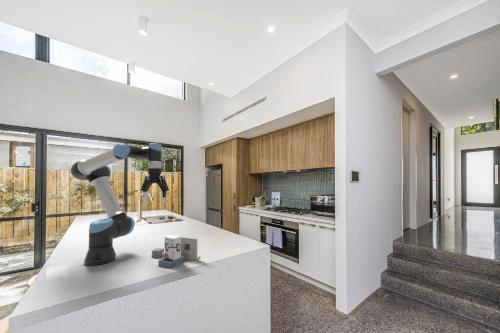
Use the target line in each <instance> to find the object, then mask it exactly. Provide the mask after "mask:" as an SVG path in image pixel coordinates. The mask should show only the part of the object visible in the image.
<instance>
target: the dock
mask: <svg viewBox="0 0 500 333" xmlns="http://www.w3.org/2000/svg"><path fill="white" fill-rule="evenodd" d="M186 260H187V259H186V255H183V254H181V258H179V259H176V260H172V259H168V258H164V257H163V258H160V259H159V260H157V261H158V263H157V264H158V267H162V268H169V269H171V268H174V267H175V266H177V265H180V264H181V263H183V262H185V261H186Z"/></svg>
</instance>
